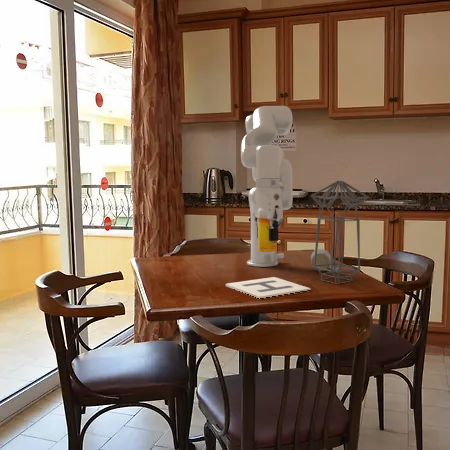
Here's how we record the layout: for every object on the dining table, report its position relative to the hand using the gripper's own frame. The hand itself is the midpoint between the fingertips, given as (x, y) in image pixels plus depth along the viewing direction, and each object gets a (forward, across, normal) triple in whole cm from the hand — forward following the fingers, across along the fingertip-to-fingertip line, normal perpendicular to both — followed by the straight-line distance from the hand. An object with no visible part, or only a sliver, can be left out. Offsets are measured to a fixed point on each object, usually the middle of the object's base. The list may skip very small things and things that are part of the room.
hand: (267, 239), depth 171 cm
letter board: (+16, 0, 0) cm, 16 cm away
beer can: (+5, 0, 0) cm, 5 cm away
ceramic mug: (+17, +13, -36) cm, 42 cm away
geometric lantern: (+17, -3, -28) cm, 33 cm away
